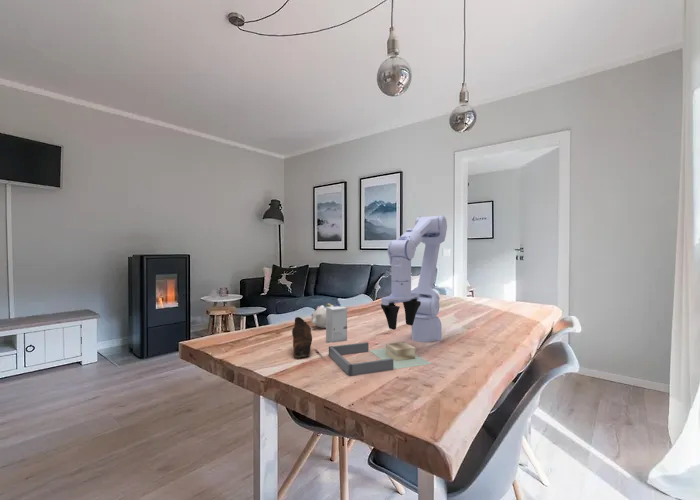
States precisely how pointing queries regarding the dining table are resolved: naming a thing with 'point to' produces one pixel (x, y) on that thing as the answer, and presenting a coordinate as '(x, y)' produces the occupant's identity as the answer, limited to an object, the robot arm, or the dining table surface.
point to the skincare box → (336, 324)
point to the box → (357, 368)
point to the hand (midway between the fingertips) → (401, 326)
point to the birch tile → (400, 351)
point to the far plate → (403, 363)
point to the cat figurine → (320, 316)
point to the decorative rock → (301, 338)
